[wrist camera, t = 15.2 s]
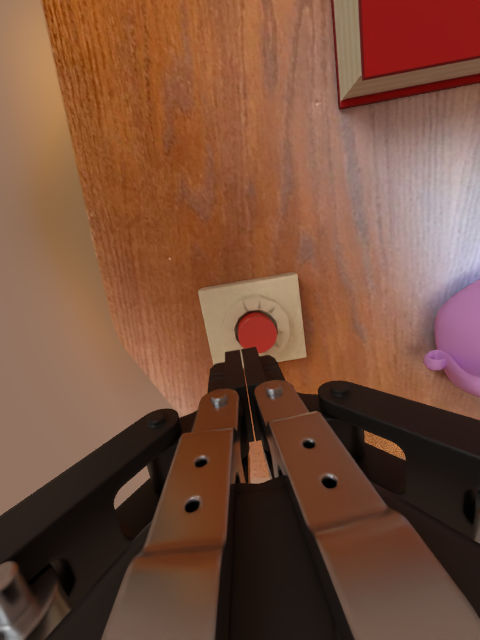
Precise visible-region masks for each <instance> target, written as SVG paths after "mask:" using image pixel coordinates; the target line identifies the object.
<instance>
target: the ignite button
mask: <svg viewBox="0 0 480 640" xmlns="http://www.w3.org/2000/svg"><path fill="white" fill-rule="evenodd" d="M276 338H277V330H276V327H275V325H274V324H273V322H272V320H271V319H270V318H269V317H268V316H267V315H265V314H263V313H259V312H253V313H250V314H247V315H246V316H244V317H243V318H242V319H241V321H240V322H239V325H238V339H239V342H240V344H241V346H242V347H243V348H244V349H245V348H251V347H256V348H257V351H258V353H263V352H266V351H268V350H269V349H270V348H271V347H272V346H273V345H274V344H275V342H276Z"/></svg>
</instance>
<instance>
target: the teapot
mask: <svg viewBox="0 0 480 640" xmlns="http://www.w3.org/2000/svg"><path fill="white" fill-rule="evenodd" d="M434 334H435V342H436V348H437V350H432V351H430V352H428V353H427V354H426V355H425V356H424V361H423V362H424V364H425V366H426V367H427V368H428V369H430V370H442V369H444V371H445V373H446V375H447V377H448V378H449V379H450V381H451V382H452V383H453V384H454V385H455V386H457V387H458V388H460V389H462V390H464V391H465V392H468V393H470V394H472V395H475V396H477V397H480V279H479V280H477V281H476V282H474V283H472V284H470V285H468V286H467V287H465V288H464V289H462V290H461V291H459V292H458V293H456V294H455V295H454V296H452V297H451V298H450V299H449V300H448V301H446V302H445V303H444V304H443V306H442V307H441V308H440V310H439V311H438V313H437V315H436V318H435V323H434Z"/></svg>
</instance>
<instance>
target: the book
mask: <svg viewBox="0 0 480 640" xmlns="http://www.w3.org/2000/svg"><path fill="white" fill-rule="evenodd" d="M331 3H332V18H333V32H334V46H335V60H336V75H337V89H338V103H339V110H340V109H345V108H350V107H356V106H361V105H366V104H371V103H376V102H382V101H387V100H392V99H397V98H403V97H408V96H413V95H418V94H424V93H429V92H434V91H439V90H445V89H450V88H455V87H460V86H466V85H471V84H476V83H480V0H331Z"/></svg>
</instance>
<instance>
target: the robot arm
mask: <svg viewBox="0 0 480 640" xmlns="http://www.w3.org/2000/svg"><path fill="white" fill-rule="evenodd" d="M241 351H242V357H243V363H244V369H245V376H246V382H247V388H248V394H249V400H250V406H251V412H252V419H253V425H254V431H255V437H256V441H258V440H262V445H263V452H264V458H265V461H266V465H267V468H268V472H269V475H270V478H271V480H269V481H266V482H264V483H260V484H250V458H249V449H250V447H249V442H253V441H254V436H253V429H252V422H251V416H250V409H249V403H248V396H247V390H246V384H245V378H244V372H243V365H242V359H241V353H240V349H239V350H233V351H227V352H225V362H222V363H216V364H214V366H213V367H212V368H211V369H210V376H209V384H208V393H207V394H206V395H204V396H203V397H202V399H201V400H200V404H199V407H198V410H197V411H195V412H193V413H191V414H189V415H186V416H183V417H181V418H179V416H178V413H177V412H176V411H175V410H173V409H160V410H156V411H153V412H151V413H149V414H147V415H145V416H144V417H142V418H141V419H140V420H138V421H137V422H135V423H134V424H132V425H131V426H129V427H128V428H126V429H125V430H124V431H122V432H121V433H119V434H118V435H116V436H115V437H113V438H112V439H111V440H109V441H108V442H106V443H105V444H103V445H102V446H101V447H99V448H98V449H96V450H95V451H93V452H92V453H90V454H89V455H88V456H86V457H85V458H83V459H82V460H80V461H79V462H77V463H76V464H74V465H73V466H72V467H70V468H69V469H67V470H66V471H65V472H63V473H61V474H60V475H59V476H57V477H56V478H54V479H53V480H51V481H50V482H49V483H47V484H46V485H44V486H43V487H41V488H40V489H38V490H37V491H36V492H34V493H33V494H31V495H30V496H28V497H27V498H25V499H24V500H23V501H21V502H20V503H18V504H17V505H15V506H14V507H12V508H11V509H10V510H8V511H7V512H5V513H4V514H3V515H1V516H0V640H480V420H477V419H473V418H470V417H466V416H463V415H460V414H456V413H453V412H449V411H446V410H443V409H439V408H436V407H432V406H429V405H426V404H422V403H419V402H415V401H412V400H409V399H405V398H402V397H398V396H395V395H392V394H388V393H385V392H381V391H378V390H375V389H371V388H368V387H364V386H361V385H358V384H354V383H351V382H347V381H331V382H327V383H324V384H323V385H321V386H320V387H319V389H318V395H316V394H301V393H298V392H296V391H295V389H294V387H293V386H292V385H291V384H290V383H288V382H286V381H285V379H284V376H283V374H282V372H281V370H280V368H279V365H278V363H277V361H276V359H275V358H274V357H272V356H270V355H264V356H259V354H258V351H257V348H256V347H251V348H245V349H241ZM364 430H365V431H368V432H370V433H373V434H375V435H377V436H380V437H382V438H385V439H387V440H389V441H392V442H394V443H395V444H397V445H398V446H399V447H400V448H401V449H402V450H403V452H404V454H405V457H406V461H405V460H403V459H400V458H398V457H396V456H394V455H392V454H389V453H387V452H385V451H383V450H381V449H378V448H376V447H374V446H372V445H369V444H367V443H365V439H364ZM146 465H147V468H148V472H149V475H150V479H148V480H147V481H146V482H145V483H144V484H143V485H142V486H141V487H140V488H138V490H136V491H135V492H134V493H133V494H132V495H131V496H130V497H129V498H128V499H127V500H126V501H124V502H123V503H122V504H121V505H120V506H119V507H118V508H117V509H116V510H115V509H114V499H115V496H116V494H117V492H118V491H119V489H120V488H121V487H122V486H123V485H124V484H126V483H127V482H128V481H129V480H130V479H131V478H132V477H134V476H135V475H136V474H137V473H138V472H139V471H141V470H142V469H143V468H144V467H145V466H146Z"/></svg>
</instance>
